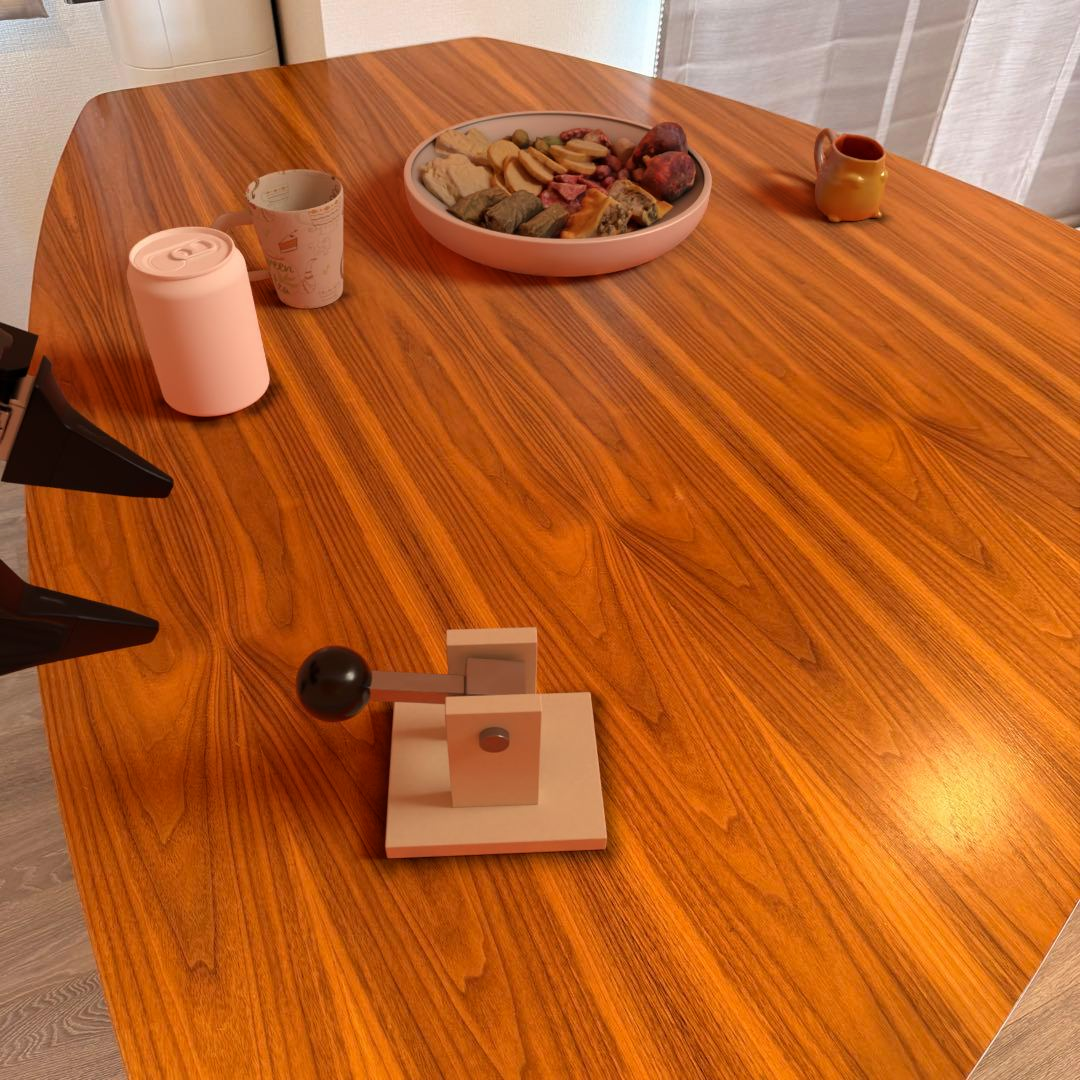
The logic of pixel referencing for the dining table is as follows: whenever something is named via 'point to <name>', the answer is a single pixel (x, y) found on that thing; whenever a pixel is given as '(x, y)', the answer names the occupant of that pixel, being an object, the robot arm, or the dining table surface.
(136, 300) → the beverage can
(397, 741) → the bracket
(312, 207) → the mug
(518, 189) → the bowl
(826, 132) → the mug
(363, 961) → the dining table surface
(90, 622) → the robot arm
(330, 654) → the lever
